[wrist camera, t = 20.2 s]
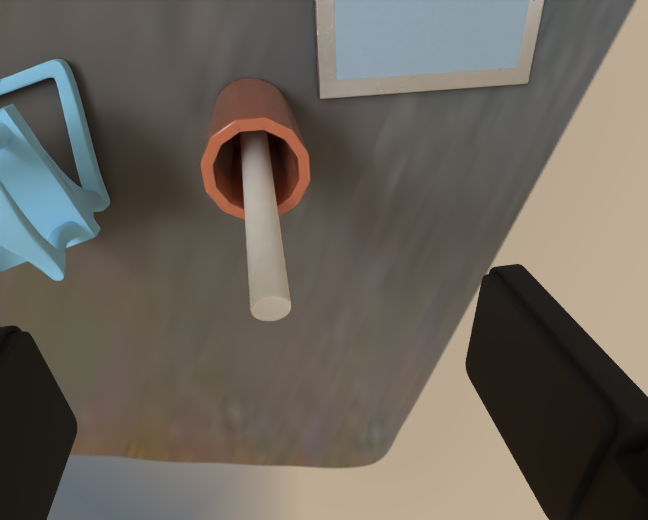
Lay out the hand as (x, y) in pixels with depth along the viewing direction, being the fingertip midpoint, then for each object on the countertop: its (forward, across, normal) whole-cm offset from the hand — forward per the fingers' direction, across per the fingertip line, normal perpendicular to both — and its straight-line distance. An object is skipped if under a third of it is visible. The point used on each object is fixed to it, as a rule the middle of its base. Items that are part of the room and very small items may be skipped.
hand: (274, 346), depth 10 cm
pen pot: (+20, 0, +1) cm, 20 cm away
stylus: (+20, 0, 0) cm, 20 cm away
